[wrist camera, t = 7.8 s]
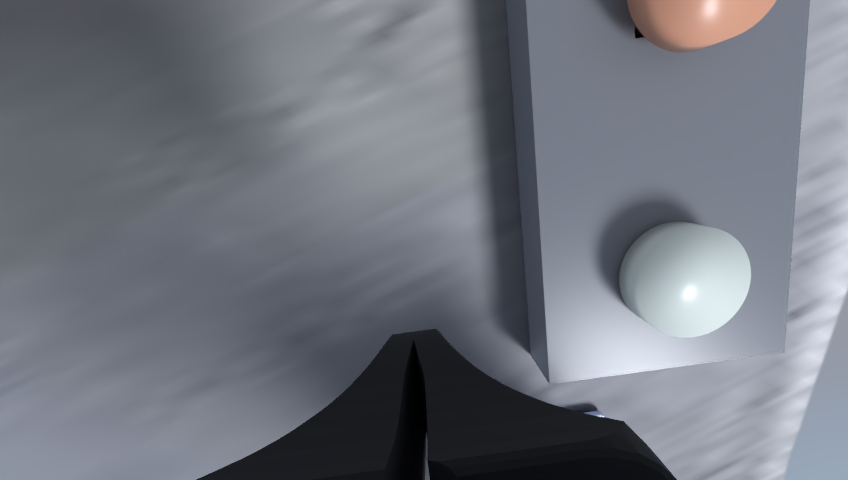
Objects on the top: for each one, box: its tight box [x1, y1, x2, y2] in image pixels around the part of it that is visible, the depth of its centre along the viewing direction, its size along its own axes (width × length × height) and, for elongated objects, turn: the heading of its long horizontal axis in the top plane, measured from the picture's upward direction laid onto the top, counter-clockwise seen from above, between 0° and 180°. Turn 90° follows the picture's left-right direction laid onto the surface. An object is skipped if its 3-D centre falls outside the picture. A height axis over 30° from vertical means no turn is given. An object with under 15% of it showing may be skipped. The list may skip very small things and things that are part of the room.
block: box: [505, 0, 810, 384], centre depth 19 cm, size 22×12×3 cm, turn 7°
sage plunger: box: [619, 221, 751, 338], centre depth 19 cm, size 5×5×4 cm
